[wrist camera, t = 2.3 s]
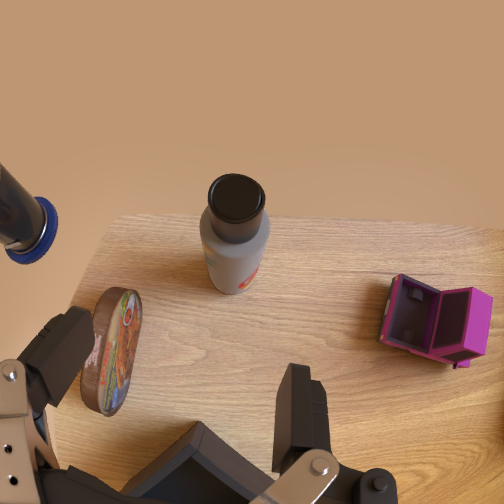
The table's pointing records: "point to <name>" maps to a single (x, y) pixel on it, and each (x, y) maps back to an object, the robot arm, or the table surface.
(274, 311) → the table surface
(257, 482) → the bin
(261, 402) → the table surface
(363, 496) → the robot arm
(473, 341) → the toy truck
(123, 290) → the tin
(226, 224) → the lotion bottle
